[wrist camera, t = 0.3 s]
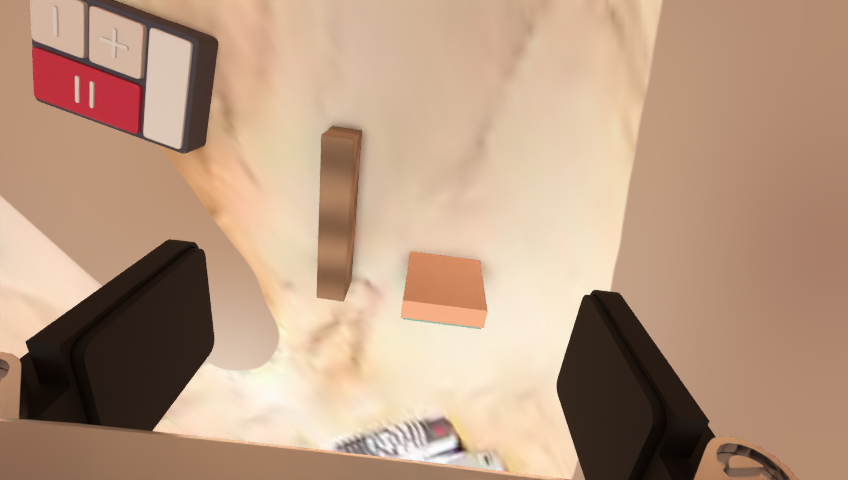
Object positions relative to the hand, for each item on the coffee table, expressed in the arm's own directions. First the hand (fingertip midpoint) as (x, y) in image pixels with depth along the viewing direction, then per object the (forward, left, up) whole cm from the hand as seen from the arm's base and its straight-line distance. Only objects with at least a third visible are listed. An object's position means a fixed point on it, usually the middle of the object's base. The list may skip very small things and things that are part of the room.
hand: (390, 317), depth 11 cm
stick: (+12, -8, -36) cm, 39 cm away
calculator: (0, -29, -36) cm, 46 cm away
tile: (+17, +4, -35) cm, 40 cm away
